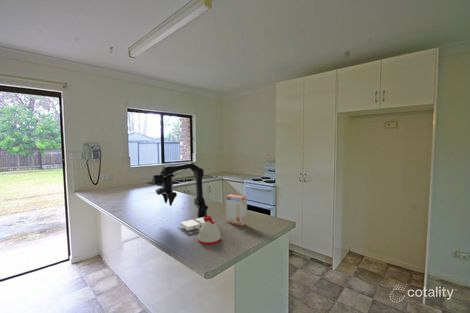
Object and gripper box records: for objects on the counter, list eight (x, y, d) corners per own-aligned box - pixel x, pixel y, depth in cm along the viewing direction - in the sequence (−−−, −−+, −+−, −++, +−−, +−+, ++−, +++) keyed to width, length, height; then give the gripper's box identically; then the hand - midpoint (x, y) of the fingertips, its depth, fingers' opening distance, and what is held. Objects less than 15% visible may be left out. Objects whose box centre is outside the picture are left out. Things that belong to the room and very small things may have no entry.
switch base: (205, 221, 164) (205, 220, 164) (217, 228, 152) (217, 226, 152) (177, 228, 151) (177, 226, 151) (188, 236, 138) (187, 234, 138)
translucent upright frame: (246, 224, 159) (246, 196, 158) (241, 227, 154) (241, 197, 153) (231, 220, 167) (231, 193, 166) (226, 222, 163) (226, 195, 162)
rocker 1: (192, 222, 156) (192, 219, 156) (200, 227, 146) (200, 224, 146) (180, 225, 150) (180, 222, 150) (188, 230, 140) (188, 227, 140)
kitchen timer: (207, 233, 142) (207, 211, 142) (225, 238, 136) (224, 214, 135) (193, 241, 130) (192, 217, 130) (211, 247, 124) (211, 221, 123)
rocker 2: (205, 219, 162) (205, 216, 162) (214, 224, 152) (214, 220, 152) (194, 222, 157) (194, 218, 157) (203, 227, 147) (203, 223, 147)
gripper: (152, 182, 160) (152, 203, 161) (161, 186, 145) (161, 209, 146) (167, 181, 167) (167, 201, 168) (176, 184, 152) (177, 206, 153)
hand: (168, 204), depth 158 cm, fingers open, 9 cm apart
